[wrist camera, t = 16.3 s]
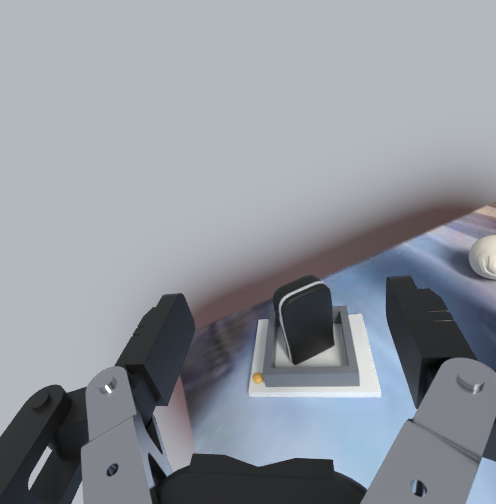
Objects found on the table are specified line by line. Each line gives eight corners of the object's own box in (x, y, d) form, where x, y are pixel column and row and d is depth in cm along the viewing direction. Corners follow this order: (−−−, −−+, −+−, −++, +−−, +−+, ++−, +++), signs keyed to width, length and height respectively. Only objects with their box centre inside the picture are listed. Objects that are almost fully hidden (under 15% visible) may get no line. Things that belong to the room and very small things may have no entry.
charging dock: (362, 318, 48) (361, 301, 46) (381, 397, 37) (381, 378, 35) (260, 324, 51) (255, 308, 49) (249, 397, 40) (243, 380, 38)
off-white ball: (466, 286, 49) (472, 250, 45) (465, 260, 54) (471, 226, 50) (522, 293, 45) (534, 255, 42) (516, 265, 50) (526, 229, 47)
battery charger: (321, 329, 46) (314, 266, 40) (337, 346, 43) (331, 281, 37) (280, 349, 45) (266, 287, 39) (293, 368, 41) (280, 304, 36)
